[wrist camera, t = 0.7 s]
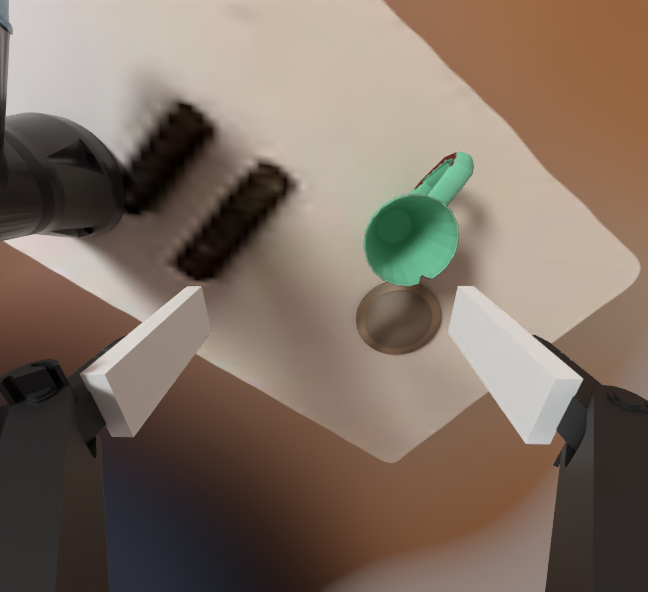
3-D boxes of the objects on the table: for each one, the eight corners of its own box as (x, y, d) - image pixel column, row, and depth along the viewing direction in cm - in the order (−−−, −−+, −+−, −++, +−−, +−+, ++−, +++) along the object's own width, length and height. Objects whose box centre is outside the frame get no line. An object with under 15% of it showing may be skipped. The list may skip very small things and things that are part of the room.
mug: (401, 272, 40) (418, 301, 31) (345, 238, 39) (346, 258, 30) (471, 179, 35) (517, 181, 26) (408, 135, 33) (433, 121, 24)
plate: (343, 335, 45) (343, 338, 45) (379, 267, 40) (380, 269, 39) (412, 361, 47) (413, 365, 46) (455, 299, 42) (458, 302, 41)
